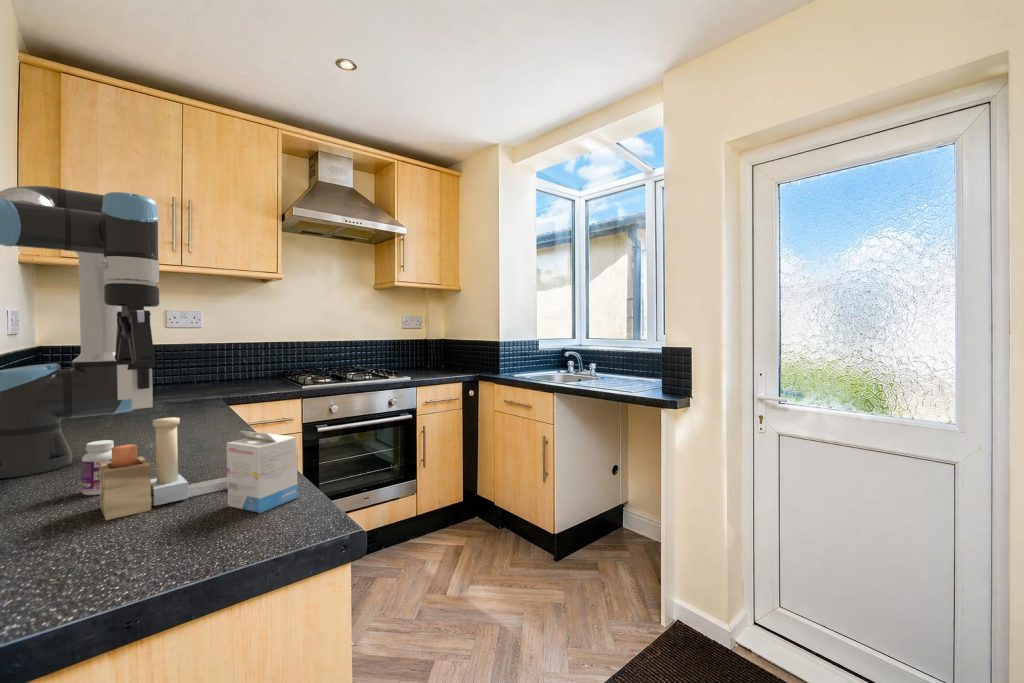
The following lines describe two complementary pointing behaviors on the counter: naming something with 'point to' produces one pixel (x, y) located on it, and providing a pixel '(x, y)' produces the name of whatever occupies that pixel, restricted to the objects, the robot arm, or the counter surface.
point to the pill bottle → (94, 465)
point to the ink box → (261, 471)
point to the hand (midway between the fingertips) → (134, 403)
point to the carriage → (167, 464)
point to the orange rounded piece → (124, 456)
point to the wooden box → (125, 489)
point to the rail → (204, 487)
